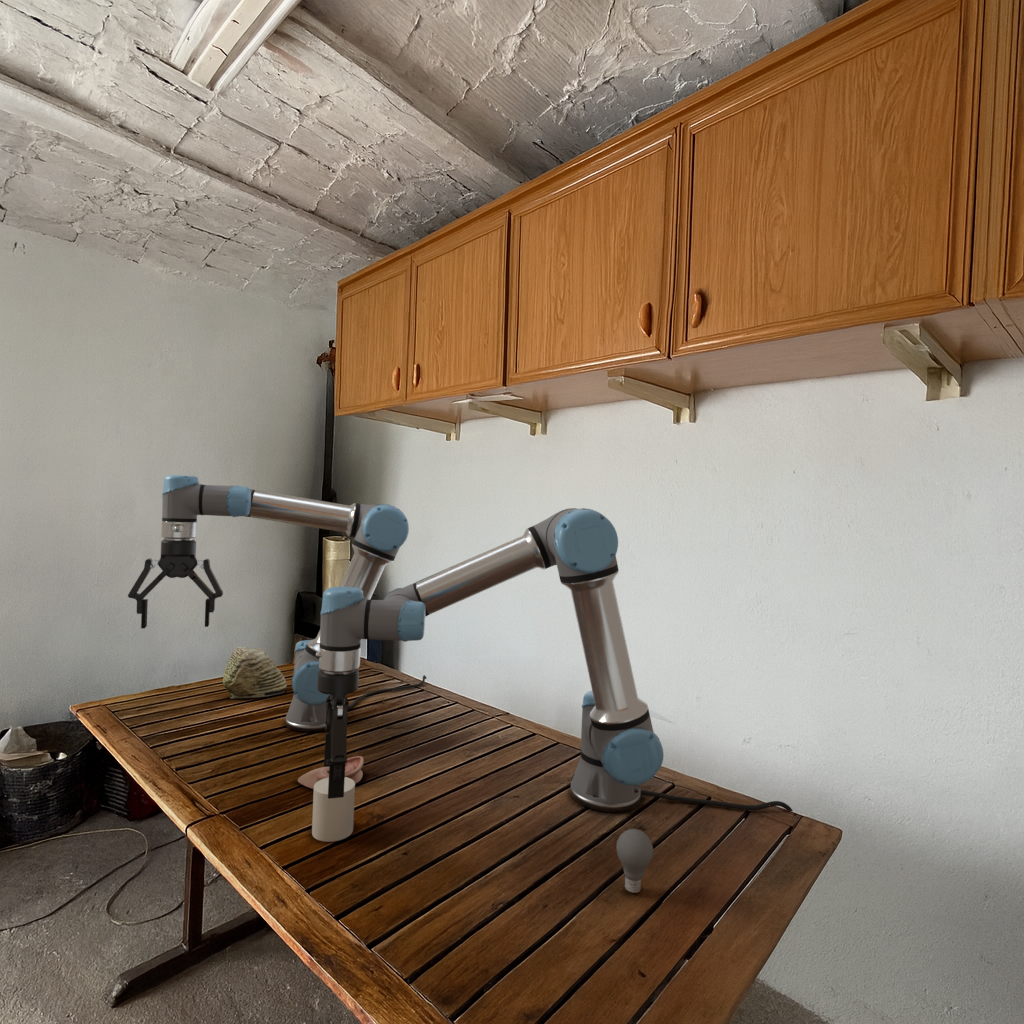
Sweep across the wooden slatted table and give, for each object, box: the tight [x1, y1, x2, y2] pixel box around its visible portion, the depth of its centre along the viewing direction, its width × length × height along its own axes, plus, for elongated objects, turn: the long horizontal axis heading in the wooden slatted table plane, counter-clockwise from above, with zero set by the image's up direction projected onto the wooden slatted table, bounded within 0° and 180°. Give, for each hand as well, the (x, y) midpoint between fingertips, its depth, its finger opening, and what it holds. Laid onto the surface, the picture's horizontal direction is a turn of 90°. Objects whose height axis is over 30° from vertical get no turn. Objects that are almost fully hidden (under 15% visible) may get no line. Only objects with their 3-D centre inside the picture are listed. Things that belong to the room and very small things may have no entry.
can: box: [311, 777, 356, 843], centre depth 120 cm, size 8×8×9 cm
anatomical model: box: [297, 755, 364, 790], centre depth 142 cm, size 13×4×12 cm
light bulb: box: [615, 828, 654, 894], centre depth 106 cm, size 6×6×10 cm
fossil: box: [222, 646, 288, 699], centre depth 198 cm, size 9×18×15 cm, turn 132°
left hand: (175, 626), depth 153 cm, fingers open, 13 cm apart
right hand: (333, 780), depth 120 cm, fingers open, 13 cm apart
